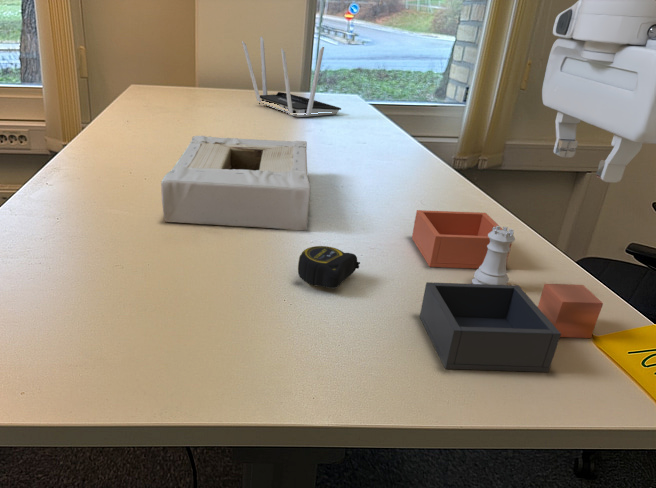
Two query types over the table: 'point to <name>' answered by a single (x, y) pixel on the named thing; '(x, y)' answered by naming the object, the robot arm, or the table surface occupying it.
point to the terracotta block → (570, 309)
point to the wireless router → (286, 99)
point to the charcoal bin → (487, 327)
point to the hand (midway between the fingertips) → (583, 167)
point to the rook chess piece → (495, 258)
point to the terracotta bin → (453, 237)
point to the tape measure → (326, 266)
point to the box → (239, 184)
